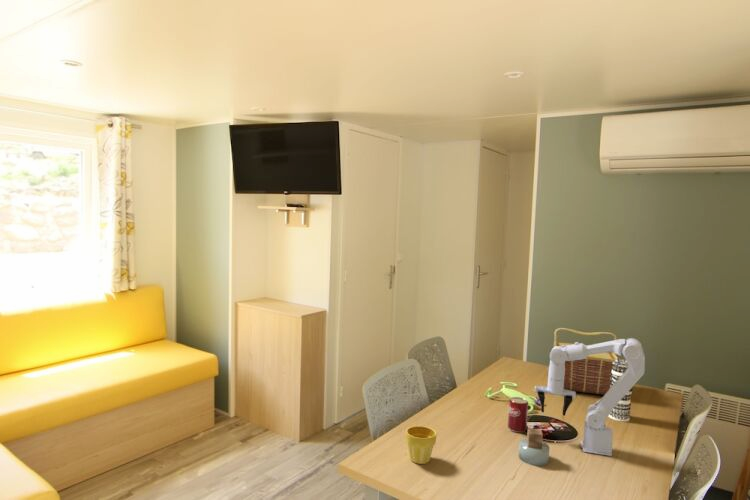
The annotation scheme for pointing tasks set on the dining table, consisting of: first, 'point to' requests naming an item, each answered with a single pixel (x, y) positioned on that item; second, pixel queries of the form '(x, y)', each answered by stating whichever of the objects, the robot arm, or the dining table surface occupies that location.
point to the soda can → (517, 414)
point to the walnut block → (534, 438)
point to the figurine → (514, 394)
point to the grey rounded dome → (533, 454)
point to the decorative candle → (623, 405)
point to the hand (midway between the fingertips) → (553, 413)
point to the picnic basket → (588, 368)
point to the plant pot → (420, 443)
